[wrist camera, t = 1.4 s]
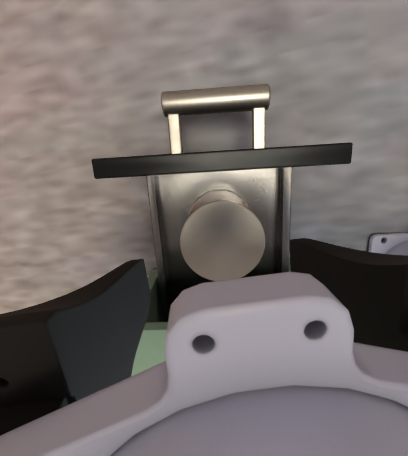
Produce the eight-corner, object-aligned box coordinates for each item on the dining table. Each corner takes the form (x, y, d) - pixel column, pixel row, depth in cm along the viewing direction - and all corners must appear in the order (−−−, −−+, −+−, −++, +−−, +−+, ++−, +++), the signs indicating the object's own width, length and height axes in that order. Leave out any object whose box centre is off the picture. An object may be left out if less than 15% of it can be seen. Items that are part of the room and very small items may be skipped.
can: (250, 186, 21) (265, 198, 15) (251, 247, 22) (265, 280, 16) (186, 190, 21) (176, 203, 15) (191, 250, 22) (183, 283, 16)
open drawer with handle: (300, 96, 20) (361, 55, 12) (292, 311, 25) (332, 387, 16) (131, 109, 20) (76, 77, 12) (156, 315, 25) (130, 391, 17)
